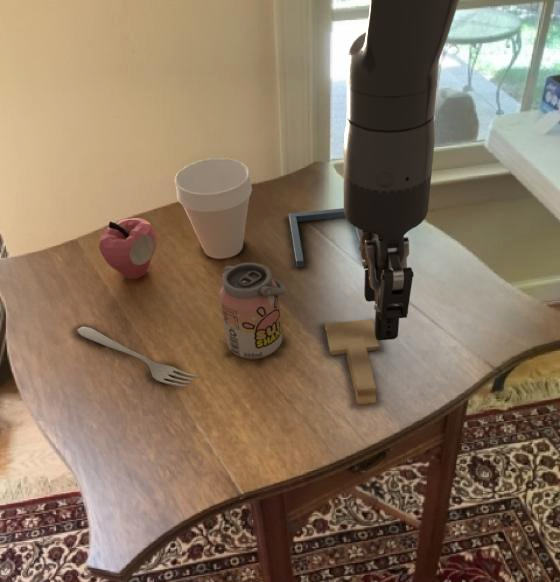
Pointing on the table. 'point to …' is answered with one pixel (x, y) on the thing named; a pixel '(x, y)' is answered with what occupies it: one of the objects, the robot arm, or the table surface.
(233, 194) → the cup
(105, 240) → the apple
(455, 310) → the table surface
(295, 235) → the u-shaped stop
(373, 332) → the t-shaped block
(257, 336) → the beverage can
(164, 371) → the fork
